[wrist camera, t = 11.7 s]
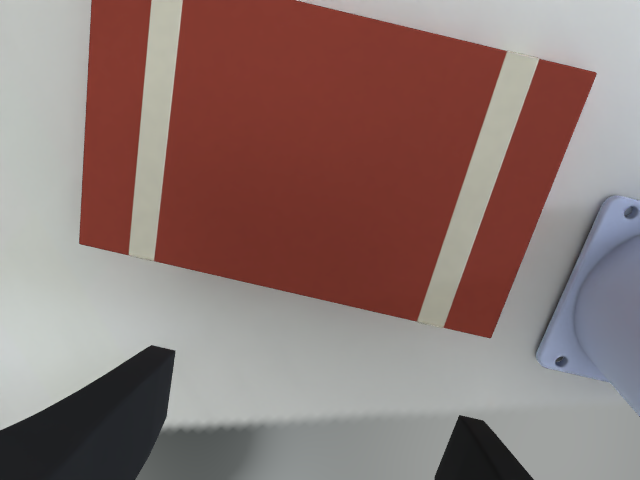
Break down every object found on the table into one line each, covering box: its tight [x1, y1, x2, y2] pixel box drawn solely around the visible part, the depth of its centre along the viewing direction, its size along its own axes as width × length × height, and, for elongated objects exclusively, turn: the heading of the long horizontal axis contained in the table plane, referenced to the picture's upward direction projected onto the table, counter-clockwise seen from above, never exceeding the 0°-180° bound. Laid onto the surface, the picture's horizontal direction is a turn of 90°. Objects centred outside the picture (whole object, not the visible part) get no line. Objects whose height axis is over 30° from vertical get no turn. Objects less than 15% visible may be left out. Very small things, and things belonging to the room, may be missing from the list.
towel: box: [79, 0, 597, 338], centre depth 18 cm, size 18×11×1 cm, turn 78°
